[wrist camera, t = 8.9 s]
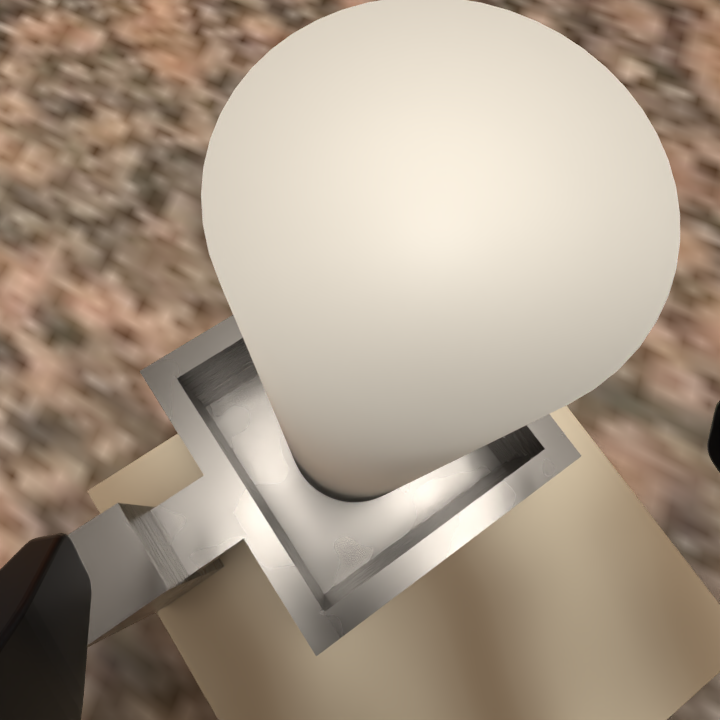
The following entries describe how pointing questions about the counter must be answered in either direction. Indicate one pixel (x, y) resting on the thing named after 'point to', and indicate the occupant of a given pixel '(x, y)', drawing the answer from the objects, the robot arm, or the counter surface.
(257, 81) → the white tall cylinder
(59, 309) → the counter surface
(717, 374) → the counter surface
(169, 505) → the cup bracket
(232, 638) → the mounting board
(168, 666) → the counter surface
